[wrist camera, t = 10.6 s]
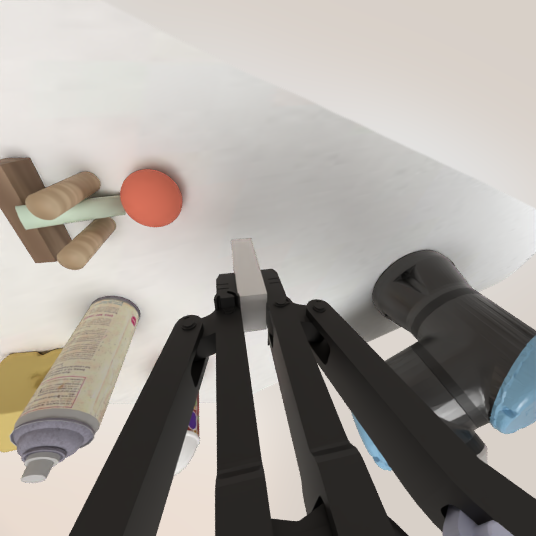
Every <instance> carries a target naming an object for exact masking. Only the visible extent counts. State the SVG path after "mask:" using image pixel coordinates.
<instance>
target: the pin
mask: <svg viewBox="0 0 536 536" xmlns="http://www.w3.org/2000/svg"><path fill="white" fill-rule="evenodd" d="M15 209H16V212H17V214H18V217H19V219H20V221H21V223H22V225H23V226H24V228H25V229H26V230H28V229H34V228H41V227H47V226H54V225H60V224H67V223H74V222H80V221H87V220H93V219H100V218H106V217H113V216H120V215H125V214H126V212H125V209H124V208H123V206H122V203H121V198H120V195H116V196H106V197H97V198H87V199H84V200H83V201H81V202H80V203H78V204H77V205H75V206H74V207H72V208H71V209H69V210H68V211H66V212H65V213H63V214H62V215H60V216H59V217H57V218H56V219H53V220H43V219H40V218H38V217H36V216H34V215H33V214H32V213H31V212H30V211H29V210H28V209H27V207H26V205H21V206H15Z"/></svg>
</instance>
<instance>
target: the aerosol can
mask: <svg viewBox="0 0 536 536" xmlns="http://www.w3.org/2000/svg"><path fill="white" fill-rule="evenodd" d="M139 317H140V312H139V309H138V307H137V306H136V305H135V304H134V303H133V302H131V301H130V300H127V299H125V298H122V297H117V296H105V297H102V298H99V299H97V300H95V301H94V302H93V303H92V305H91V306H90V308H89V309H88V311H87V312H86V314H85V315H84V317H83V319H82V320H81V322H80V323H79V325H78V326H77V328H76V329H75V331H74V333H73V334H72V336H71V337H70V339H69V340H68V342H67V343H66V345H65V347H64V348H63V350H62V351H61V353H60V354H59V356H58V357H57V359H56V361H55V362H54V364H53V365H52V367H51V368H50V370H49V372H48V373H47V375H46V376H45V378H44V379H43V381H42V382H41V384H40V386H39V387H38V389H37V390H36V392H35V393H34V395H33V396H32V398H31V400H30V401H29V403H28V404H27V406H26V407H25V409H24V410H23V412H22V414H21V415H20V417H19V418H18V420H17V421H16V423H15V426H14V430H13V431H12V433H11V434H10V436H9V437H10V441H11V442H12V443H13V444H14V445H15V446H17V452H18V454H19V455H20V456H21V457H22V458H21V459H22V461H23V462H24V465H25V466H26V469H25V471H24V474H23V476H22V478H21V481H23V482H25V483H38V482H42V481H44V480H45V479H46V478H47V476H48V474H49V472H50V470H51V468H52V467H53V466H55V465H57V464H58V463H59V462H61V461H63V460H64V459H65V458H66V457H68V456H70V455H72V454H74V453H75V452H76V451H77V450H78V449H79V448H82V447H84V446H86V445H88V444H89V443H90V442H91V441H92V440H93V438H94V435H95V433H96V432H97V430H98V429H99V427H100V424H101V422H102V419H103V416H104V413H105V411H106V408H107V405H108V403H109V400H110V397H111V394H112V392H113V389H114V386H115V383H116V381H117V378H118V375H119V373H120V370H121V367H122V364H123V362H124V359H125V356H126V353H127V351H128V348H129V345H130V343H131V340H132V337H133V334H134V332H135V329H136V326H137V323H138V321H139Z"/></svg>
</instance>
